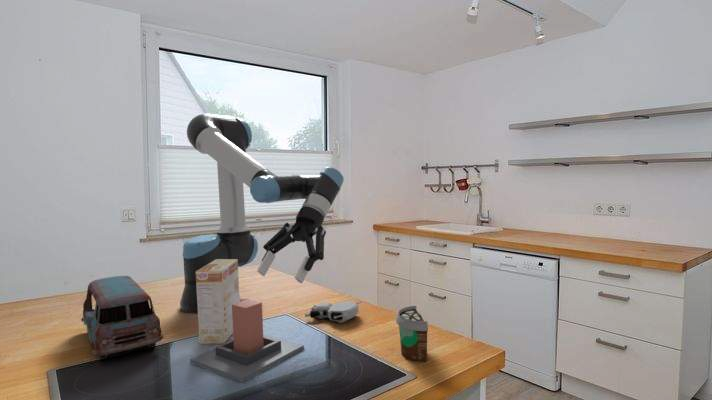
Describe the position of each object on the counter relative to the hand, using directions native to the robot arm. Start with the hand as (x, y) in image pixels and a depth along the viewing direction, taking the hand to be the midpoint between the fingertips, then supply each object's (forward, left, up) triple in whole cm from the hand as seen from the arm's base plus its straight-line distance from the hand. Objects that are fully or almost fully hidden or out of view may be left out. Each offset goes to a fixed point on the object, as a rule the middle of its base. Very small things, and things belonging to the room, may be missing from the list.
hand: (278, 277), depth 112 cm
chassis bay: (0, -11, -17) cm, 20 cm away
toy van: (-37, -23, -17) cm, 47 cm away
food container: (+33, +10, -17) cm, 39 cm away
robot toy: (+2, +21, -17) cm, 27 cm away
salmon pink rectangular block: (0, -11, -16) cm, 19 cm away
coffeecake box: (-18, -5, -17) cm, 25 cm away
